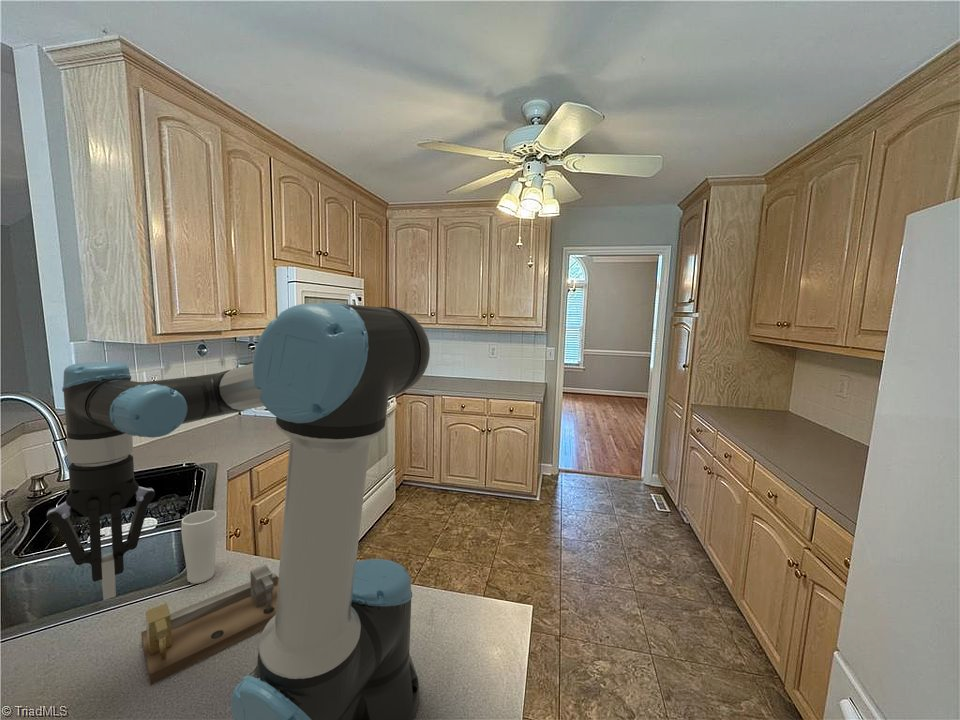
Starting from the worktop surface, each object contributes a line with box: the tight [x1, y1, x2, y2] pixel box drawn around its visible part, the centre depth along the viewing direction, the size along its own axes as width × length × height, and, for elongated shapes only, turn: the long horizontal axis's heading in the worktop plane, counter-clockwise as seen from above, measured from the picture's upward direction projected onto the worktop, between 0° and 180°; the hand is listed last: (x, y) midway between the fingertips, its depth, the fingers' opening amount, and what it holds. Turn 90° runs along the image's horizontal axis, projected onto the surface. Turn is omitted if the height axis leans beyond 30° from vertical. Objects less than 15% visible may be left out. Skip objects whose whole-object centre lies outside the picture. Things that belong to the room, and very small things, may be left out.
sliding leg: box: [145, 602, 172, 660], centre depth 70 cm, size 7×3×6 cm, turn 46°
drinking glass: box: [180, 509, 218, 585], centre depth 91 cm, size 7×7×15 cm
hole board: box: [140, 564, 279, 686], centre depth 78 cm, size 12×24×8 cm, turn 136°
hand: (109, 593), depth 66 cm, fingers closed
